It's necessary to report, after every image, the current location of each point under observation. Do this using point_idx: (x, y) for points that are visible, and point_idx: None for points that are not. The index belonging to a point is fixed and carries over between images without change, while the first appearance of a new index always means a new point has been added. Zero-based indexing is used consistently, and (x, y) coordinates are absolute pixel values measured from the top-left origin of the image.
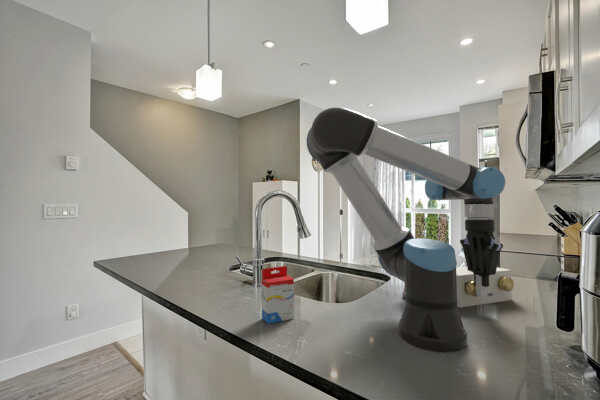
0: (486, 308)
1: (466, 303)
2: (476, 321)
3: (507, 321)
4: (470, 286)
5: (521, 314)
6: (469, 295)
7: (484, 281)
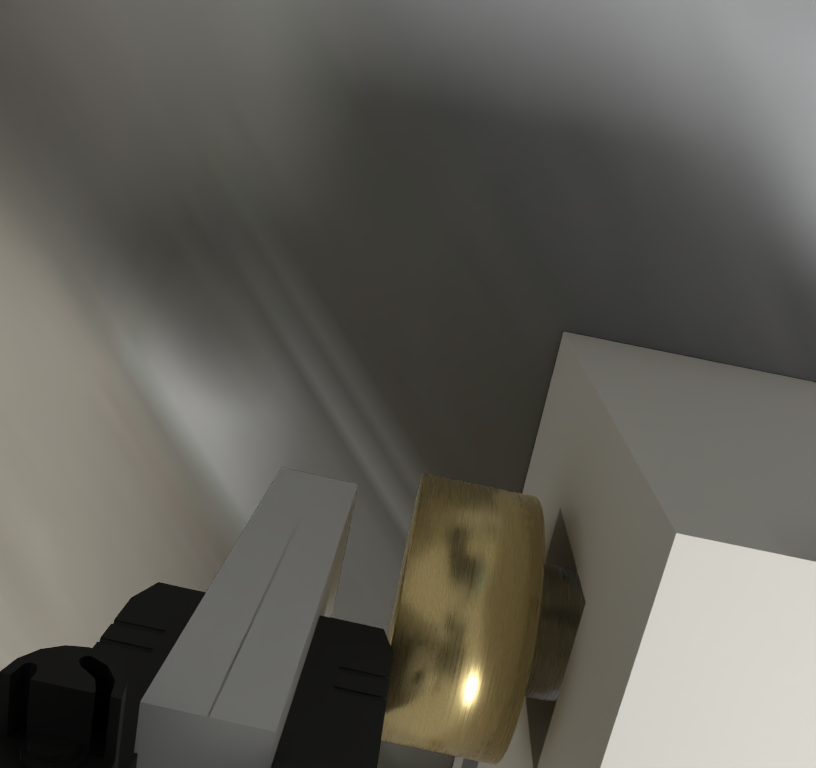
0: (377, 576)
1: (539, 458)
2: (177, 69)
3: (42, 384)
4: (433, 534)
5: None
6: None
7: (117, 649)
